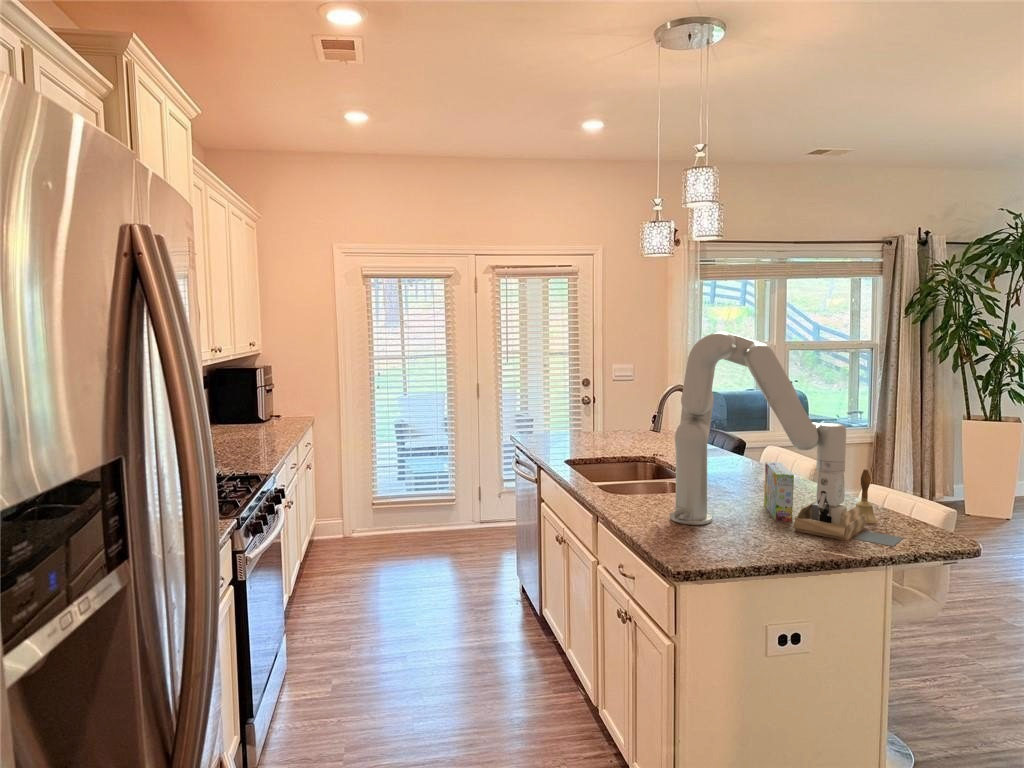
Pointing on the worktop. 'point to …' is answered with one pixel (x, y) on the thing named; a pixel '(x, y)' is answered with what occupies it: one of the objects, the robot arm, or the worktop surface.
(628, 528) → the worktop surface
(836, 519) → the white box
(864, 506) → the hand bell
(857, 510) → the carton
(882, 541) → the slate mat
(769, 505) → the snack box
